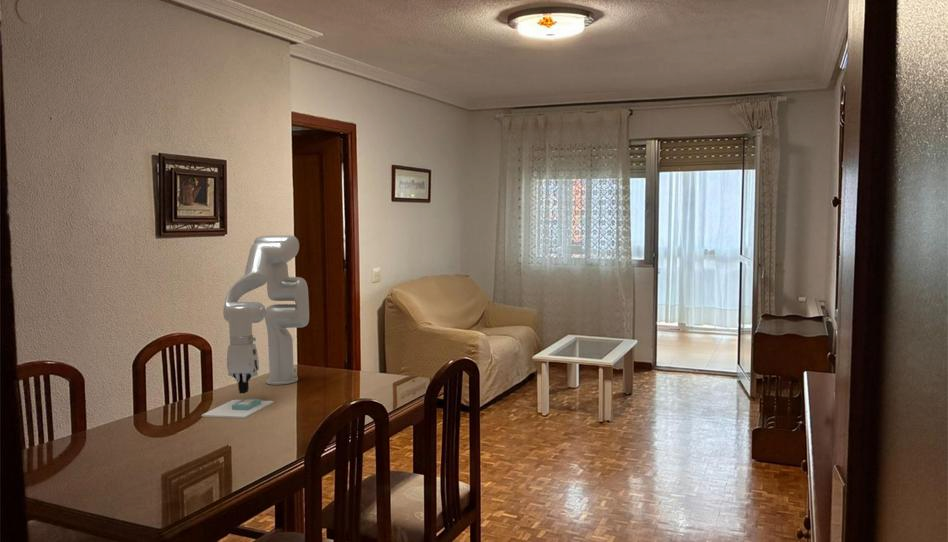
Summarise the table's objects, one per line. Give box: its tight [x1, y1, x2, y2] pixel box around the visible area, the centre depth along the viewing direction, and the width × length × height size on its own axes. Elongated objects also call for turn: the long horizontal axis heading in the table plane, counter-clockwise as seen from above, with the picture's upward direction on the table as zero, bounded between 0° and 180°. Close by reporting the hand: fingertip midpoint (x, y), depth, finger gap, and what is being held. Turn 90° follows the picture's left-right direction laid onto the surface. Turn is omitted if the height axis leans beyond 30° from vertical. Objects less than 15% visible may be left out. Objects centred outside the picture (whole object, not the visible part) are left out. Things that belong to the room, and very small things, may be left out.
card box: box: [232, 398, 262, 410], centre depth 246 cm, size 9×2×6 cm
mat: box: [201, 399, 275, 419], centre depth 245 cm, size 20×16×1 cm
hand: (243, 392), depth 246 cm, fingers closed
